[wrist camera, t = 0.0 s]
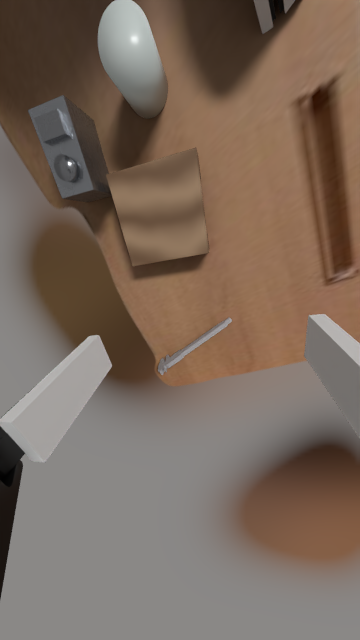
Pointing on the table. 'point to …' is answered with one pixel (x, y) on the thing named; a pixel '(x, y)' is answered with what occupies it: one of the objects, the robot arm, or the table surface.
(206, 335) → the caliper
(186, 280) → the table surface
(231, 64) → the table surface
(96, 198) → the housing
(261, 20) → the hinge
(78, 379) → the robot arm
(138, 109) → the pale grey pebble
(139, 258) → the stand
